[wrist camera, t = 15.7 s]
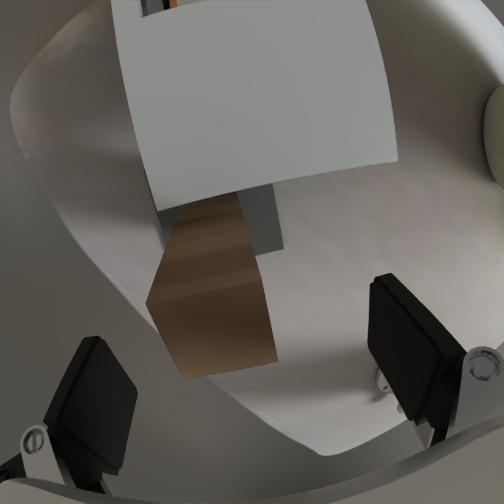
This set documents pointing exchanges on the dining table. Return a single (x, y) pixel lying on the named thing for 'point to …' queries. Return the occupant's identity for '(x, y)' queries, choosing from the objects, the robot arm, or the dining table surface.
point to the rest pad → (255, 215)
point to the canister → (495, 134)
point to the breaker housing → (251, 92)
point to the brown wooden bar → (211, 292)
